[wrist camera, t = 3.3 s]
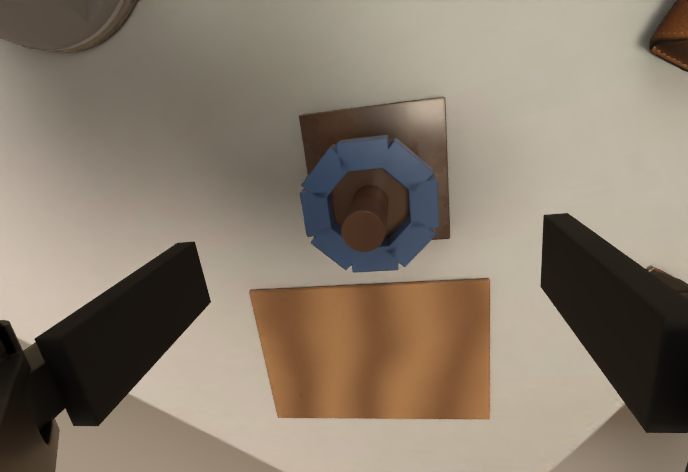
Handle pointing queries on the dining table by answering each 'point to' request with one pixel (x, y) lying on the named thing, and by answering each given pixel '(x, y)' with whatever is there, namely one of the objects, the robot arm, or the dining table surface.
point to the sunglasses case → (673, 36)
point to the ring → (365, 157)
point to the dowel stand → (376, 184)
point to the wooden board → (378, 349)
